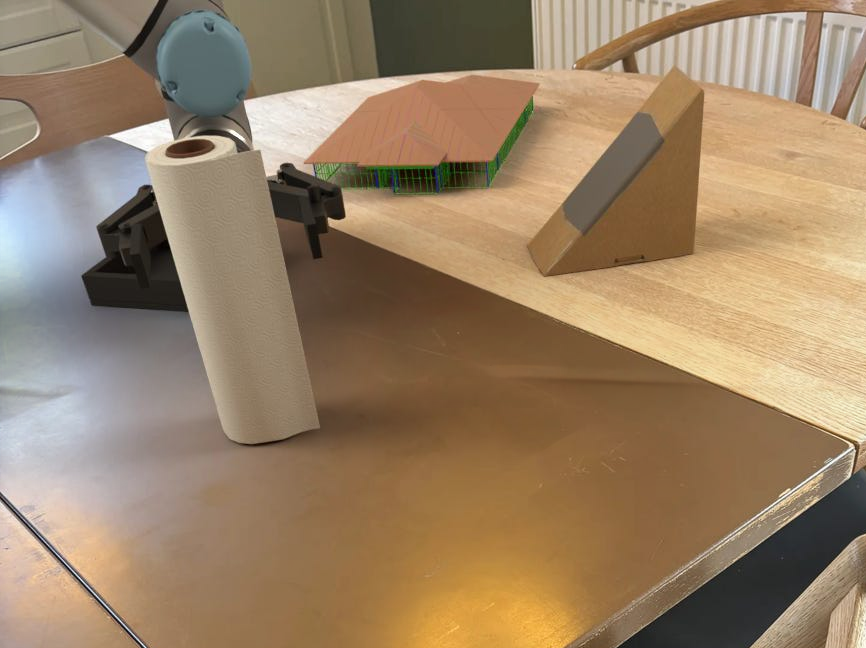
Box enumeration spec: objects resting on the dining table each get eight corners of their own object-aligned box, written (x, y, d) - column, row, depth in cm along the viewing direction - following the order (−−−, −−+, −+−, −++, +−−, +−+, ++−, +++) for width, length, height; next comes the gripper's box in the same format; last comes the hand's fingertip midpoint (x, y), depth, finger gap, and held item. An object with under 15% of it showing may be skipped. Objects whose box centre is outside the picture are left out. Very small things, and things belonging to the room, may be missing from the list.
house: (300, 199, 120) (286, 125, 115) (381, 113, 143) (372, 48, 138) (488, 199, 115) (483, 122, 110) (540, 109, 138) (538, 42, 133)
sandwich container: (524, 244, 105) (516, 85, 95) (668, 223, 106) (675, 63, 96) (542, 277, 99) (535, 110, 89) (694, 254, 100) (705, 86, 90)
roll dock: (91, 305, 103) (80, 275, 100) (161, 249, 112) (153, 221, 110) (213, 313, 99) (204, 282, 97) (275, 254, 108) (268, 225, 106)
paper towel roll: (210, 427, 83) (128, 149, 68) (274, 399, 85) (207, 126, 71) (255, 461, 78) (177, 171, 64) (320, 430, 81) (260, 145, 66)
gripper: (356, 191, 98) (392, 275, 83) (95, 234, 95) (82, 330, 80) (342, 106, 93) (378, 180, 78) (66, 149, 90) (47, 234, 75)
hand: (228, 256), depth 79 cm, fingers open, 13 cm apart
